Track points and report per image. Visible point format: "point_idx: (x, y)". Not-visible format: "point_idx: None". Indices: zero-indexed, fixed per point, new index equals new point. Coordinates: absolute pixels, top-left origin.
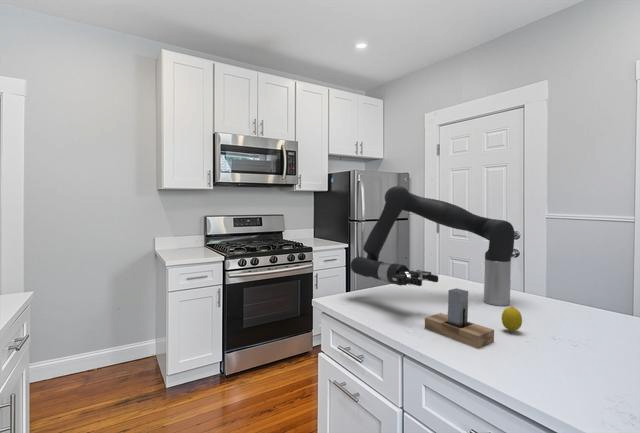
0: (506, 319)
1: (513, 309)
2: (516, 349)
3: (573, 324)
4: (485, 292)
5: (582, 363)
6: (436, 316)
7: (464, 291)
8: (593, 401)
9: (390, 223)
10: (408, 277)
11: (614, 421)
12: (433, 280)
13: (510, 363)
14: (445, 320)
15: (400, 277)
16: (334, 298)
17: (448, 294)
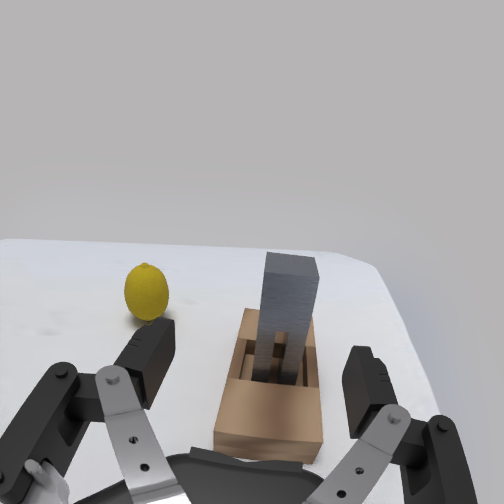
0: (166, 295)
1: (153, 266)
2: (247, 307)
3: (50, 268)
4: None
5: (227, 265)
6: (270, 424)
7: (283, 255)
8: (321, 261)
9: None
10: (409, 416)
11: (339, 256)
12: (164, 366)
13: (314, 304)
14: (283, 390)
15: (462, 454)
16: None
17: (315, 293)
